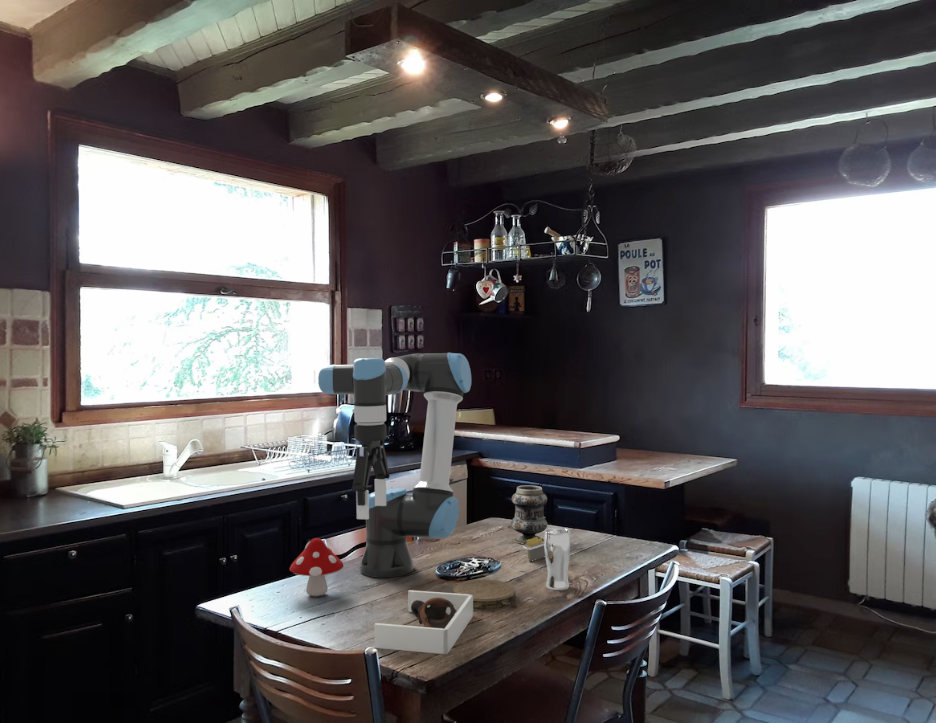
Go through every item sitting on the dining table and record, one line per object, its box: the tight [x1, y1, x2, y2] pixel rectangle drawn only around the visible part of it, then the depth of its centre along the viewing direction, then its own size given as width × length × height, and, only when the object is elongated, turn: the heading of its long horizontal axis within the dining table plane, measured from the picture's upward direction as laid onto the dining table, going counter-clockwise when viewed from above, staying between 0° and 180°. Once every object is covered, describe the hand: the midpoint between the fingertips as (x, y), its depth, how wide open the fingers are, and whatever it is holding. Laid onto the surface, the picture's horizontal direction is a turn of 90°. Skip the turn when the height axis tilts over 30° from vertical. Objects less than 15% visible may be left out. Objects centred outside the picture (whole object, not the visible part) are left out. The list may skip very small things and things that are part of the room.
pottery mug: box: [411, 598, 457, 629], centre depth 169 cm, size 12×10×8 cm
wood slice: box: [452, 579, 516, 611], centre depth 190 cm, size 16×16×3 cm
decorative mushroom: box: [289, 537, 344, 597], centre depth 194 cm, size 14×14×15 cm
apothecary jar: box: [510, 485, 548, 545], centre depth 249 cm, size 12×12×18 cm
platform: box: [522, 537, 545, 562], centre depth 227 cm, size 12×18×7 cm, turn 138°
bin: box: [374, 589, 474, 655], centre depth 168 cm, size 24×16×5 cm
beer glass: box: [544, 527, 571, 591], centre depth 199 cm, size 7×7×15 cm
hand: (372, 512), depth 178 cm, fingers open, 13 cm apart
